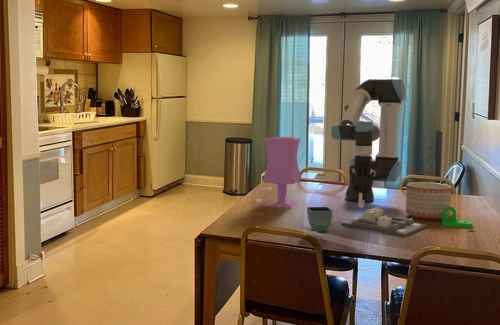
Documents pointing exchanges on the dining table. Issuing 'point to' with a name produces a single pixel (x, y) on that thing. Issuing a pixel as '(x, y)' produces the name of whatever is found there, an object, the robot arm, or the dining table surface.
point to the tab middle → (369, 215)
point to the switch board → (397, 227)
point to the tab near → (384, 221)
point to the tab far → (378, 212)
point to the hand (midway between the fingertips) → (361, 206)
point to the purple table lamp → (282, 166)
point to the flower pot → (319, 218)
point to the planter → (427, 200)
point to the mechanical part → (454, 219)
